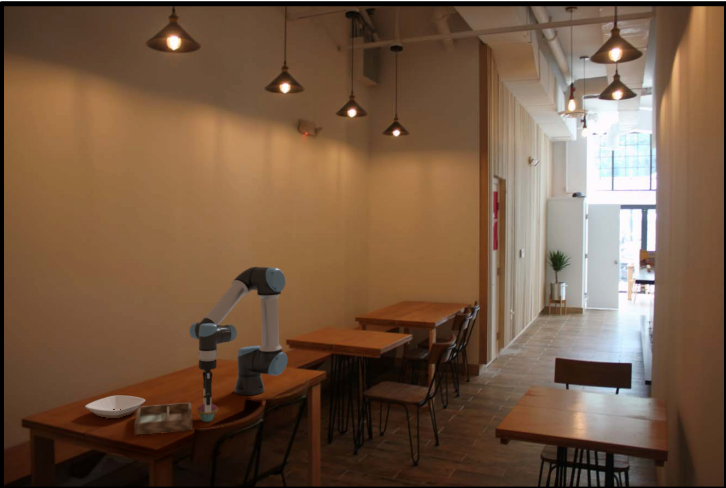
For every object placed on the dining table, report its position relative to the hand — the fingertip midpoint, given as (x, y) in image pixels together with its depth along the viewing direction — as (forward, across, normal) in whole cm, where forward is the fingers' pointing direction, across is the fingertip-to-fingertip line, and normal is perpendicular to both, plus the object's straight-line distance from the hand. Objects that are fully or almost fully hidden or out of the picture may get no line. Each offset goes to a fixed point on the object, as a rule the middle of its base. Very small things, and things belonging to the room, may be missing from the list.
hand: (207, 407), depth 255 cm
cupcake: (+6, 0, 0) cm, 6 cm away
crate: (+6, 0, -18) cm, 19 cm away
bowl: (+6, -20, -39) cm, 44 cm away
